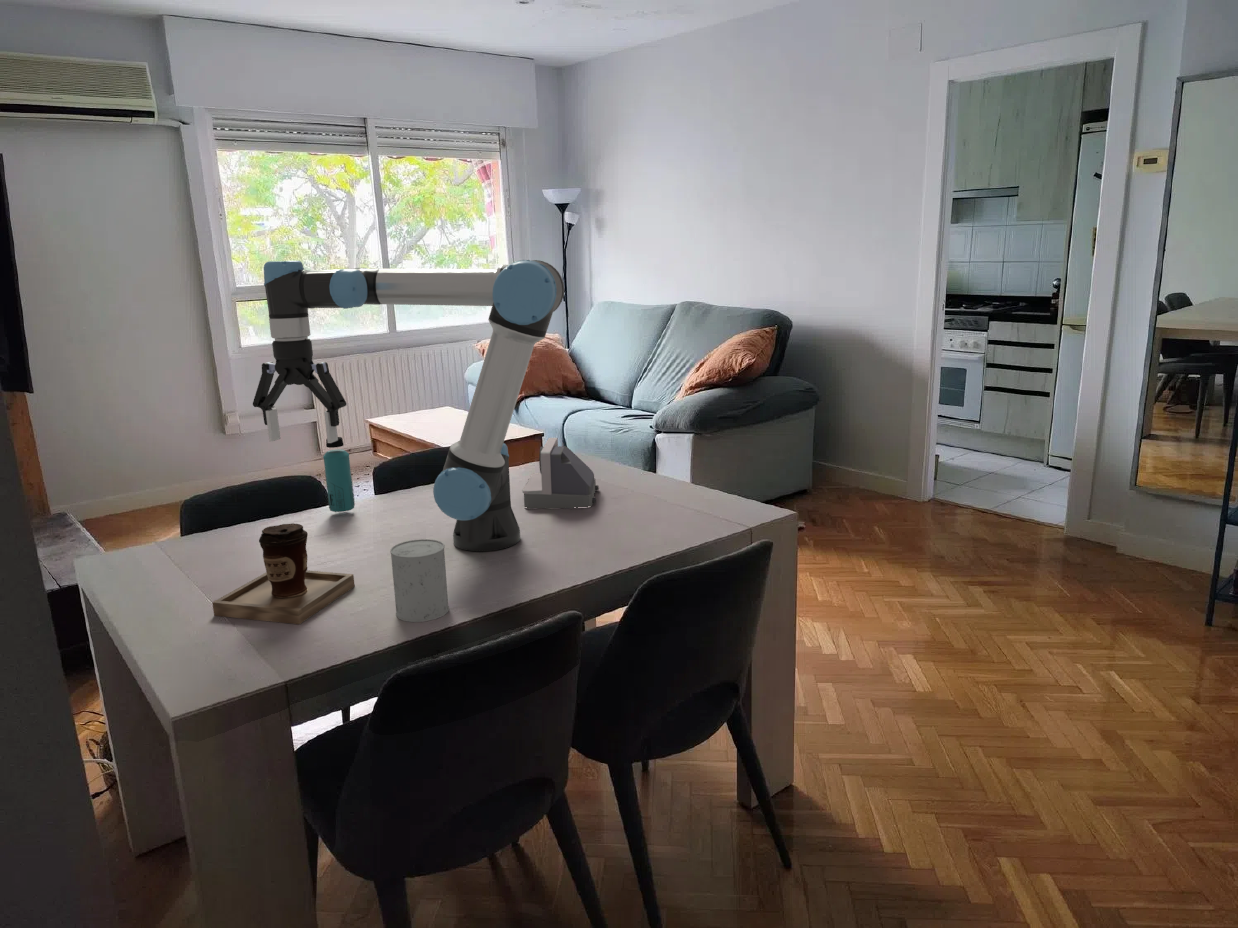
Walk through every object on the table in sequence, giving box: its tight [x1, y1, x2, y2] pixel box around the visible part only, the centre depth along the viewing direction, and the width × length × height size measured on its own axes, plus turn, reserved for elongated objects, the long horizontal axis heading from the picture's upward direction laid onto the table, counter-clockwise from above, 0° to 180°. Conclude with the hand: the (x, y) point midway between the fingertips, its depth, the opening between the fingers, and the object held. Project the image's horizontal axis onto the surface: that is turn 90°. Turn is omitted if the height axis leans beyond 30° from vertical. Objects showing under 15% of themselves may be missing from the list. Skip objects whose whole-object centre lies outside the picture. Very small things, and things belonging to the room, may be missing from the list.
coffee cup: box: [258, 522, 308, 598], centre depth 159 cm, size 9×8×13 cm
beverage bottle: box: [322, 436, 356, 513], centre depth 212 cm, size 6×7×20 cm
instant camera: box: [521, 437, 600, 508], centre depth 223 cm, size 21×21×15 cm
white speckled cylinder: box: [389, 538, 450, 623], centre depth 153 cm, size 10×10×12 cm
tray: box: [212, 569, 356, 625], centre depth 161 cm, size 18×18×3 cm
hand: (303, 441), depth 176 cm, fingers open, 13 cm apart
